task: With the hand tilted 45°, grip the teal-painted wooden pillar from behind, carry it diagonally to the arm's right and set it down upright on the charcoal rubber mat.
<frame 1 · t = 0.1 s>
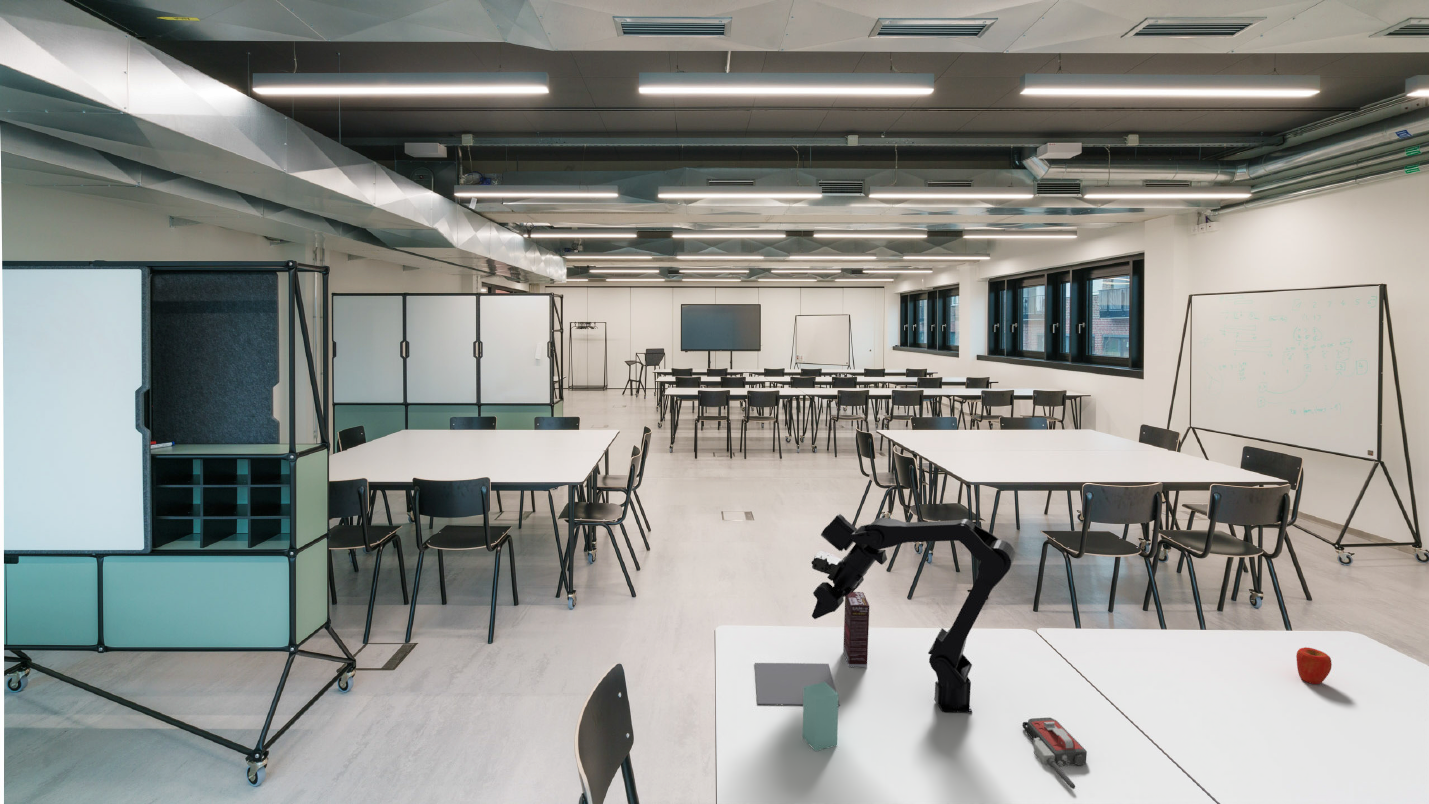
hand: (820, 610, 171), 15 cm above the table, tool tilted 35°, fingers open, 9 cm apart
apple: (1311, 681, 168), on the table
supplement box: (855, 659, 178), on the table
charcoal mat: (794, 683, 167), on the table
teal block: (819, 741, 145), on the table
walkie-talkie: (1059, 759, 140), on the table
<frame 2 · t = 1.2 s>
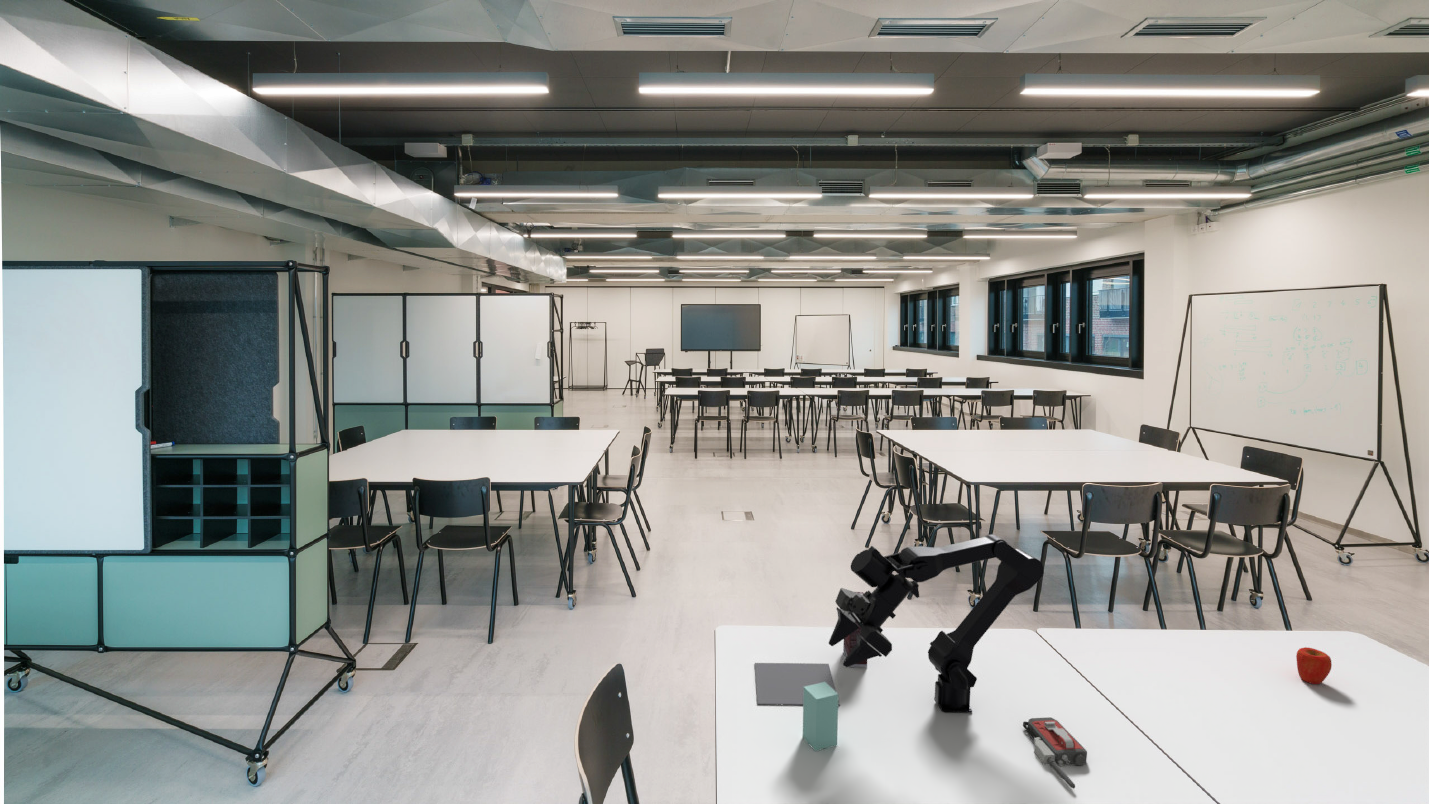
hand: (837, 655, 152), 14 cm above the table, tool tilted 40°, fingers open, 9 cm apart
nothing on the table moved.
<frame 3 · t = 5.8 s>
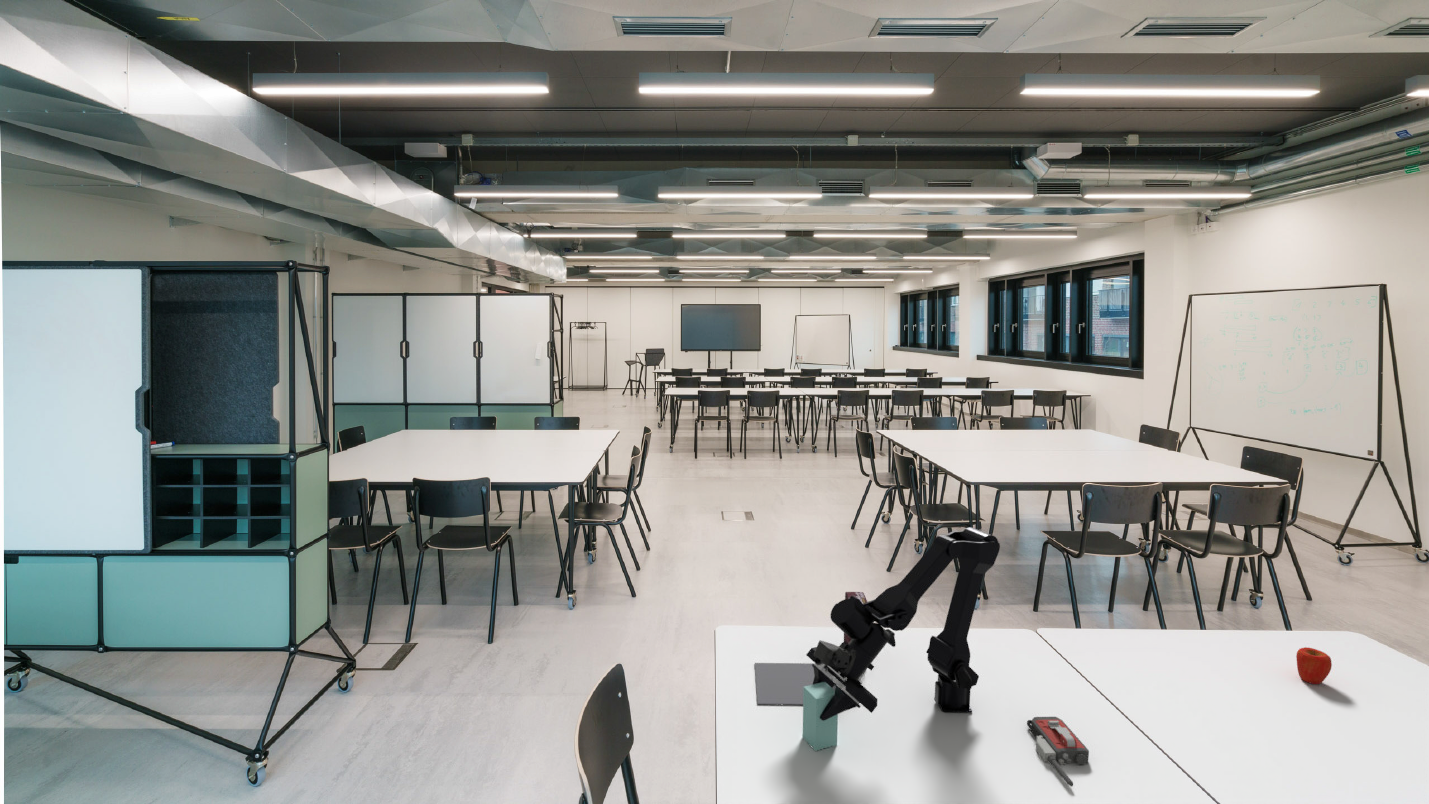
hand: (814, 712, 143), 7 cm above the table, tool tilted 45°, fingers closed on teal block, 5 cm apart
teal block: (819, 741, 145), on the table, touching gripper
when the fingers open (8 cm above the table, at t = 11.7 s): teal block drops 1 cm, resting on charcoal mat.
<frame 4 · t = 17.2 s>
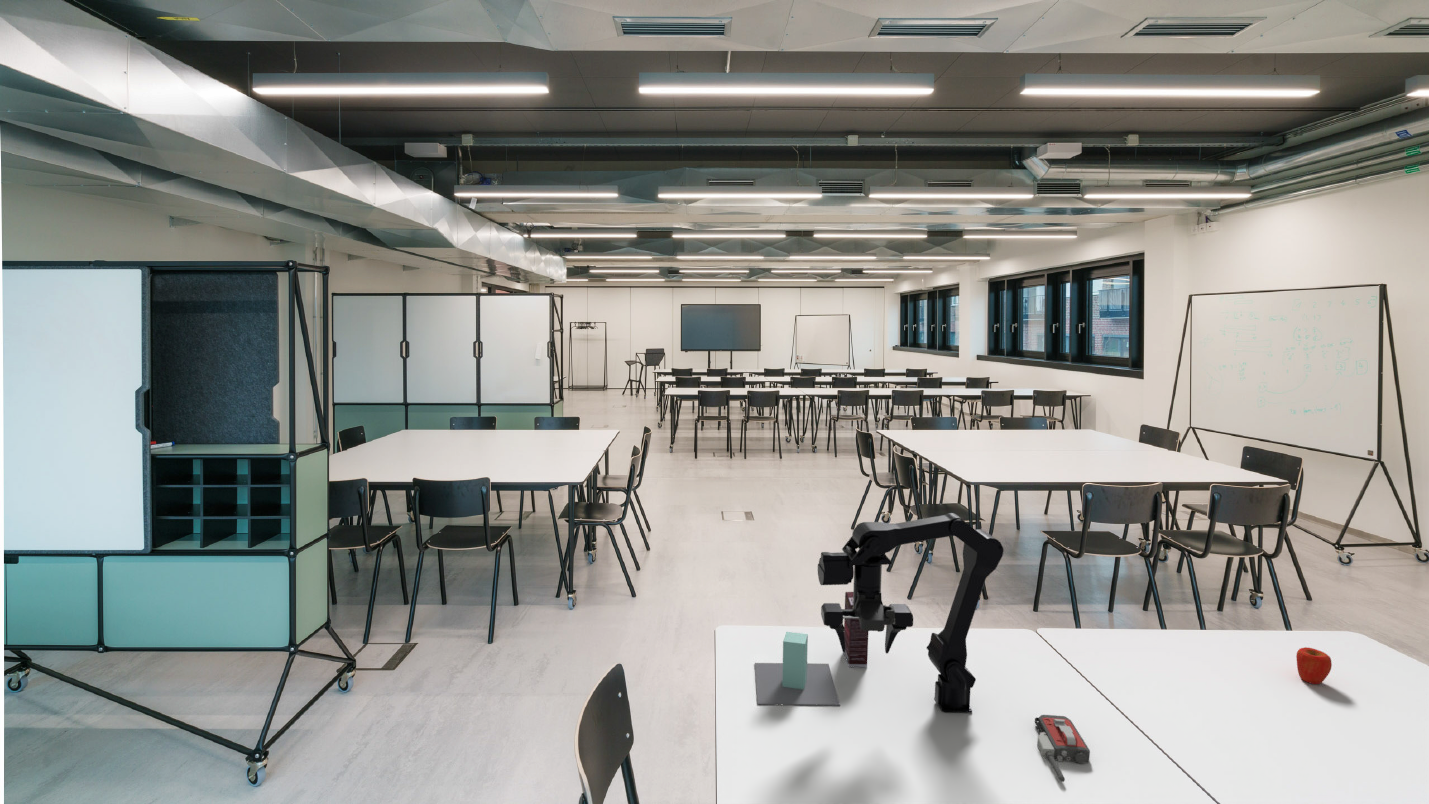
hand: (865, 652, 155), 13 cm above the table, tool pointing down, fingers open, 9 cm apart
teal block: (794, 682, 167), resting on charcoal mat
at the end: teal block inside the target area on the charcoal mat (0.0 cm from its centre), point 0.3 cm above the charcoal mat's base; teal block tilted 0°; the gripper is holding nothing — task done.
